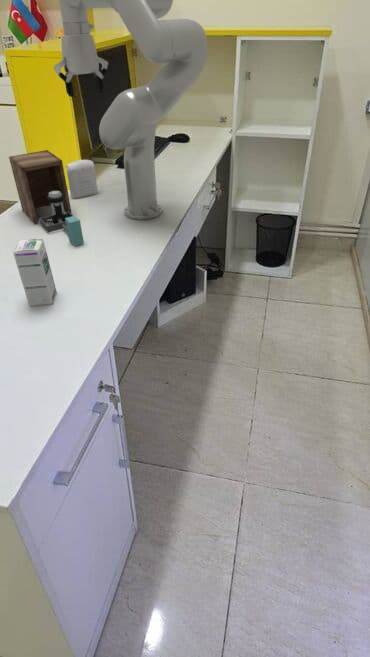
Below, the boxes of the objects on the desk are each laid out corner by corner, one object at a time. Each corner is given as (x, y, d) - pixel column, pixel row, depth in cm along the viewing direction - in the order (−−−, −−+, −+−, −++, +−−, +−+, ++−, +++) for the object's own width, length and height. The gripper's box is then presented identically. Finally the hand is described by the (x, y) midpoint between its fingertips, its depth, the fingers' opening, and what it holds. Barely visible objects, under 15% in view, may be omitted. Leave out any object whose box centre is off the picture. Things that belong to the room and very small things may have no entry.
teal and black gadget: (94, 239, 133) (91, 217, 128) (62, 248, 128) (58, 225, 124) (69, 216, 147) (65, 195, 143) (40, 223, 143) (35, 202, 139)
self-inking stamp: (48, 227, 141) (41, 197, 135) (48, 221, 146) (41, 191, 140) (69, 225, 143) (63, 194, 137) (69, 218, 147) (63, 188, 141)
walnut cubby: (72, 215, 149) (61, 160, 138) (34, 224, 144) (21, 167, 133) (58, 202, 158) (47, 150, 148) (22, 210, 153) (8, 156, 142)
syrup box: (53, 304, 106) (39, 249, 97) (28, 306, 106) (12, 251, 97) (56, 291, 111) (44, 238, 102) (32, 293, 110) (18, 239, 102)
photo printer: (95, 190, 168) (90, 156, 160) (100, 193, 165) (95, 159, 157) (69, 196, 163) (62, 161, 156) (73, 200, 160) (67, 164, 153)
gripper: (98, 27, 138) (105, 89, 148) (43, 31, 131) (55, 96, 141) (108, 28, 133) (115, 92, 143) (52, 32, 126) (63, 99, 136)
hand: (85, 94), depth 142 cm, fingers open, 9 cm apart
